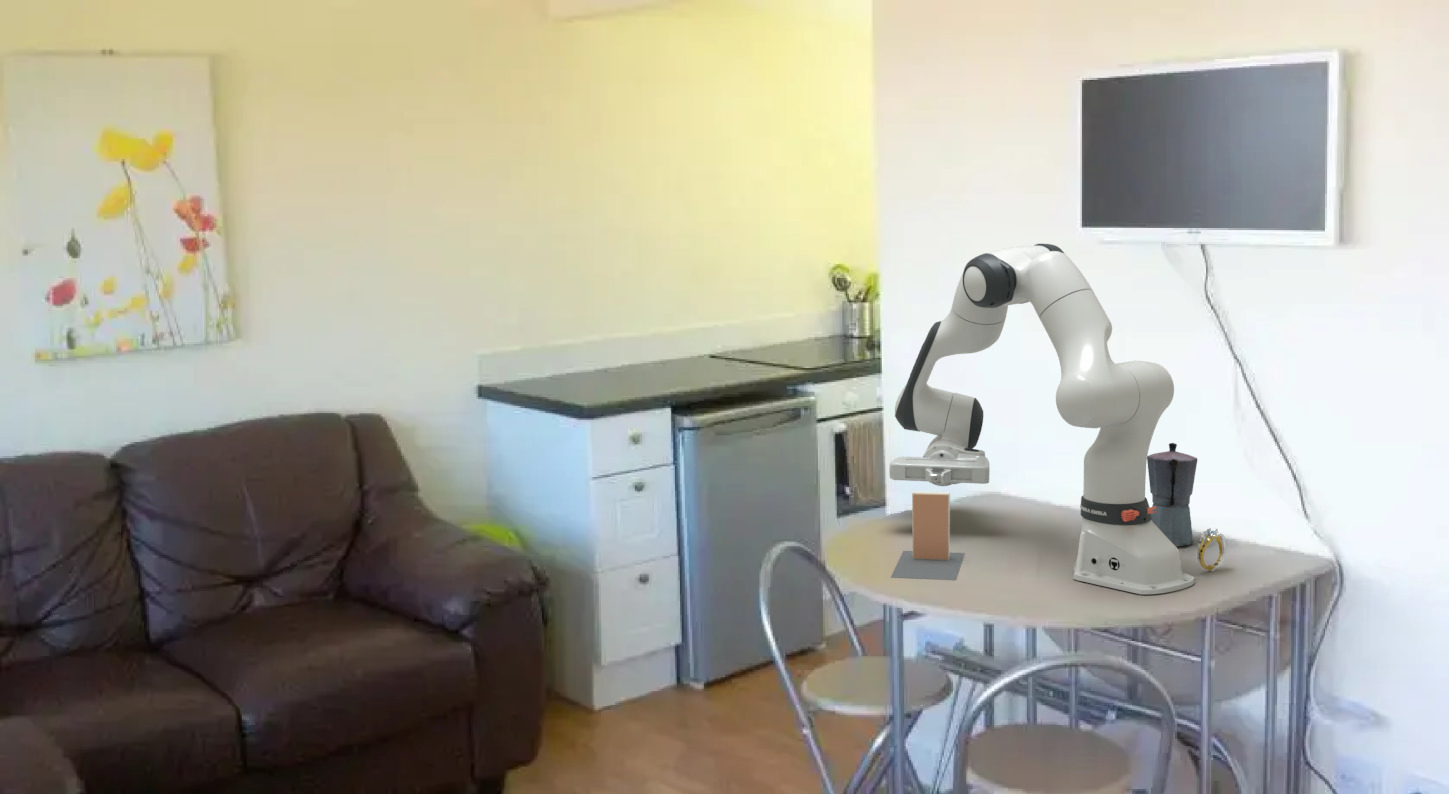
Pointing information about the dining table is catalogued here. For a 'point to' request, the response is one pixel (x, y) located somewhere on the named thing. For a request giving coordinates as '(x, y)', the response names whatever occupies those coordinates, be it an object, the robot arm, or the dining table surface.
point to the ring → (1202, 547)
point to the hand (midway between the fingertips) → (936, 479)
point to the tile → (931, 525)
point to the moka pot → (1172, 493)
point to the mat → (928, 567)
